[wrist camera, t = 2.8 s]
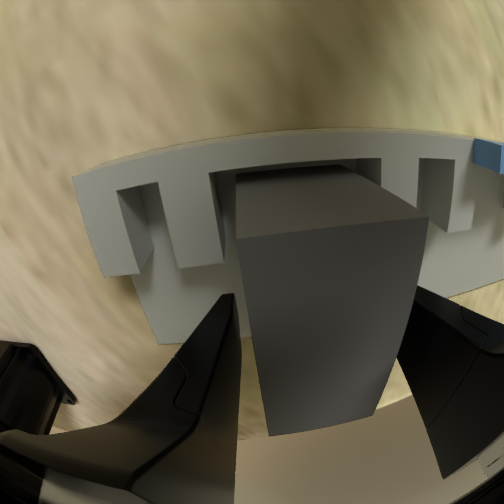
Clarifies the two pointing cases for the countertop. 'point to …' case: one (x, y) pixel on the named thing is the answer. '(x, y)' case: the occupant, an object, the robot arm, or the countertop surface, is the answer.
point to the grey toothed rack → (270, 158)
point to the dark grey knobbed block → (325, 289)
